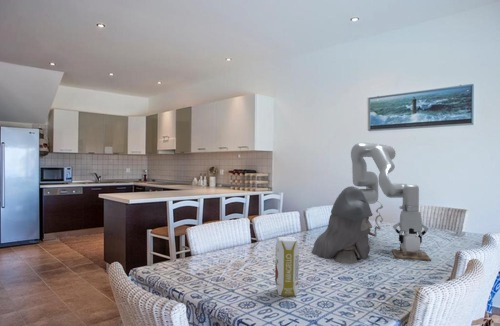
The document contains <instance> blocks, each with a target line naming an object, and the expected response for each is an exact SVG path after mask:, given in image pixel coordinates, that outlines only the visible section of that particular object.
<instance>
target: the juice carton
mask: <svg viewBox="0 0 500 326" xmlns="http://www.w3.org/2000/svg"><path fill="white" fill-rule="evenodd" d="M298 243H299V242H298V240H296V238H295V237H294V236H277V237H276V242H275V262H274V263H275V264H274V265H275V269H274V270H275V271H274V273H275V274H274V275H275V278H274V280H275V281H274V282H275V283H274V284H275V286H276V287H275V288H276V290H277V294H278V296H279V295H282V296H281V297H295V296H297V295H298V290H299V273H300V272H299V270H300V268H299V266H300V265H299V262H300V261H299V259H300V258H299V257H300V252H299V251H300V247H299V244H298ZM284 295H285V296H284Z"/></svg>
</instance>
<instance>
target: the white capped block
mask: <svg viewBox="0 0 500 326" xmlns="http://www.w3.org/2000/svg"><path fill="white" fill-rule="evenodd" d="M402 236H403V237H402V243H401V242H400V244H401V248H402V249H403V248H405V249H406V251H411V252H418V250H421V244H420V238H419V237H418V232H414V229H412V228H410V229H409V231H404V232H403V234H402Z"/></svg>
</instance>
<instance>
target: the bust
mask: <svg viewBox="0 0 500 326" xmlns="http://www.w3.org/2000/svg"><path fill="white" fill-rule="evenodd" d="M360 189H361V188H359V187H357V186H354V185H353V186H346V187H345V188H344V189H342V190H341V191H340V193H339V195H338V196H337V197H336V199H335V201H334V203H333V206H332V208H331V210H330V213H331V214H330V215H329V218H328V223H327V227H326V229H325V231H324V232H322V233H321V234H320V235H319V236H318V237H317V238H316V239H315V241H314V244H313V247H312V249H311V254H312V255H315V256H317V257H319V258H323V259H334V262H336V263H339V264H347V265H349V264H350V265H354V264H357V263H358V260H366V259H368V258H369V255H370V252H371V246H370V242H368V240H369V239H370V237H369V236H372V237H375V238H376V237H377V236H378V232H377V230H382V228H381V225H380V224H379V223H381V224H383V223H382V222H383V221H384V217H383V216H382V215H381V213H380V212H379V210H381V209H383V208H384V206H383V204H382V203H381V201H380V202H379V201H378V200H377V199H379V197H378V198H377V199H376V201H377V202H378V203H380V207H378V208H377V209H375V212H376V213H377V214H378V215H377V216H376V217H375V224H376V225H377V226H376V225H375V226H374V233H373V232H371V230H372V228H373V225H372V223H371V222H370V220H369V219H370V217H372V216H373V215H374V214H373V213H372V210H371V206H370V204H368V202H367V200H366V198H365V196H364V194H363V192H362V191H361V190H360ZM377 202H376V203H377ZM379 217H380V218H381V220H379V223H378V218H379Z"/></svg>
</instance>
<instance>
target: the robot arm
mask: <svg viewBox="0 0 500 326" xmlns="http://www.w3.org/2000/svg"><path fill="white" fill-rule="evenodd" d="M396 155H397V154H396V150H395V148H393V146H391V145H387V144H381V143H370V142H359V143H355V144H354V145H353V146H352V148H351V150H350V158H351V164H352V166H351V167H352V168H351V169H352V171H351V173H352V176H351V177H352V183H353V184H352V185H353V186H354V187H357V188H359V187H361V188H359V189H360V190H361V191H362V192H363V194H364V196H365V198H366V200H367V202H368V204H369V205H373V204H376V203H377V201H378V199H379V187H380V189H381V192H382V193H383V194H384V196H385V197H386V198H388V199H389V198H390V199H393V198H394V199H396V198H398V199H399V198H401V199H402V205H401V206H400V205H399V207H398V208H399V209H400V210H401V212H400V216H399V222H397V223H396V224H394V225H392V228H393V229H394V230H395V232H396V233H397V235H398V241H399V242H400V244H401V243H402V237H403V236H402V235H403V234H404V231H409V229H410V228H412V229H414V232H417V236H418V237H419V238H420V245H421V243H422V242H423V236H424V235H425V234H427V233H428V231H429V228H428V227H427V226H426V225H424V224H423V222H422V221H423V220H422V213H421V211H420V210H419V209H420V207H419V206H420V203H419V202H420V201H419V200H420V189H419V188H420V187H419V185H417V184H407V183H392V182H391V180H390V179H389V174H390V173H392V172H393V171H394V170H395V167H396V166H395V164H394V162H393V160H394V159H395V157H396ZM364 158H372V160H373V161H374V163H375V165H376V168H377V169H378V171H379V174H378V175H377V174H376V173H375V172H374V171H369V170H368V167H367V166H368V165H367V162H366V159H364ZM362 187H363V188H362ZM364 187H365V188H364ZM377 198H378V199H377ZM376 199H377V201H376ZM398 228H399V229H400V230H399V229H398ZM423 229H424V230H423ZM368 242H369V243H370V242H371V238H369V240H368Z"/></svg>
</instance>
